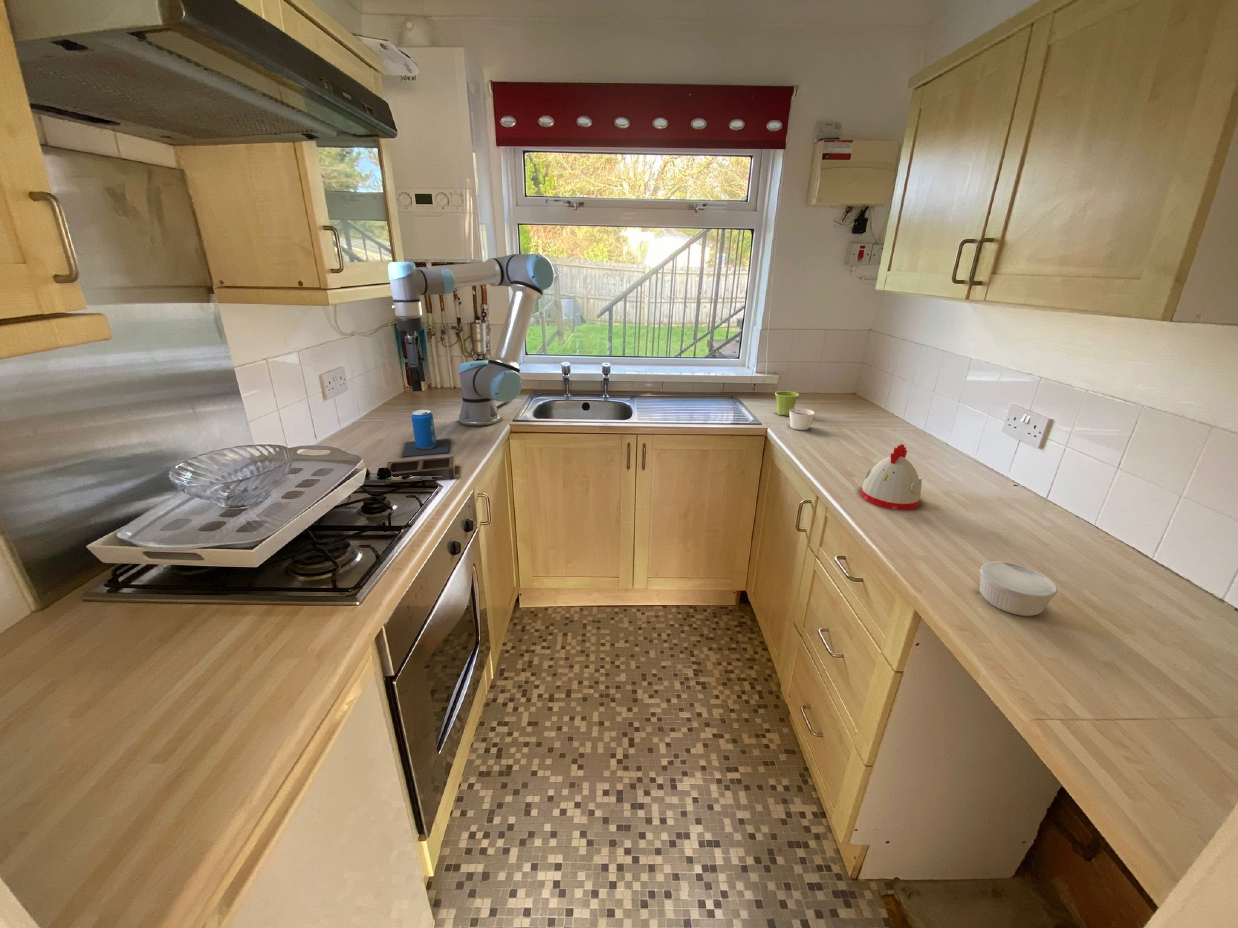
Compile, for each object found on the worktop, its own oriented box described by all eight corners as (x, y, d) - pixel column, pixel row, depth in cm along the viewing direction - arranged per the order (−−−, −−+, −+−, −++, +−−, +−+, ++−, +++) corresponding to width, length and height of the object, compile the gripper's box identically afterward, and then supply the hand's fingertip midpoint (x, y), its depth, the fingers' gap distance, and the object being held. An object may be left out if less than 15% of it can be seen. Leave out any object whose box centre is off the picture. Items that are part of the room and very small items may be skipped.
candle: (810, 425, 197) (813, 409, 195) (813, 432, 189) (815, 415, 186) (786, 423, 199) (788, 407, 197) (787, 430, 191) (790, 413, 188)
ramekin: (1050, 600, 95) (1059, 576, 93) (1045, 629, 87) (1055, 604, 85) (979, 576, 102) (986, 554, 100) (968, 602, 94) (976, 578, 92)
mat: (406, 443, 173) (406, 442, 173) (449, 439, 177) (449, 438, 177) (402, 457, 161) (401, 456, 160) (448, 453, 164) (448, 452, 164)
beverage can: (430, 451, 165) (425, 415, 161) (412, 449, 166) (406, 414, 162) (440, 444, 171) (436, 410, 166) (422, 443, 172) (418, 408, 168)
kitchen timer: (851, 496, 137) (861, 443, 131) (875, 483, 145) (885, 433, 139) (905, 514, 127) (918, 458, 121) (927, 499, 135) (941, 446, 129)
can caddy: (389, 472, 149) (387, 461, 148) (455, 466, 154) (453, 456, 153) (385, 485, 140) (383, 474, 139) (454, 478, 145) (453, 468, 144)
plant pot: (767, 412, 213) (770, 392, 210) (785, 410, 217) (787, 390, 214) (783, 418, 205) (786, 397, 202) (801, 415, 209) (804, 395, 206)
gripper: (400, 313, 163) (410, 378, 171) (390, 321, 141) (402, 396, 149) (425, 312, 165) (433, 377, 173) (419, 321, 143) (429, 394, 151)
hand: (419, 386), depth 161 cm, fingers open, 13 cm apart
